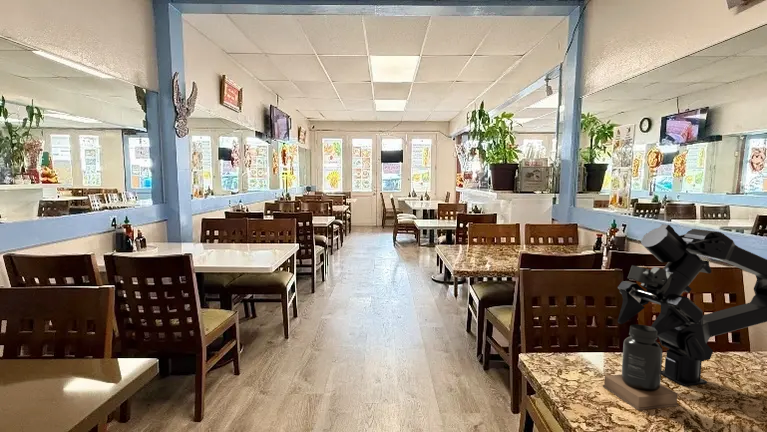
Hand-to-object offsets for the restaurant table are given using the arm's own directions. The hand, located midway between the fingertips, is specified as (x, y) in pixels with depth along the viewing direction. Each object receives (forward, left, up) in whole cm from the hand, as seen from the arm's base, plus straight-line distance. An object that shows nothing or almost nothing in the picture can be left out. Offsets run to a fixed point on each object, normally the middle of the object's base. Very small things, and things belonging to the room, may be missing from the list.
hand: (633, 329), depth 89 cm
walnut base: (+3, +6, -12) cm, 14 cm away
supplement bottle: (+3, +6, -10) cm, 12 cm away
